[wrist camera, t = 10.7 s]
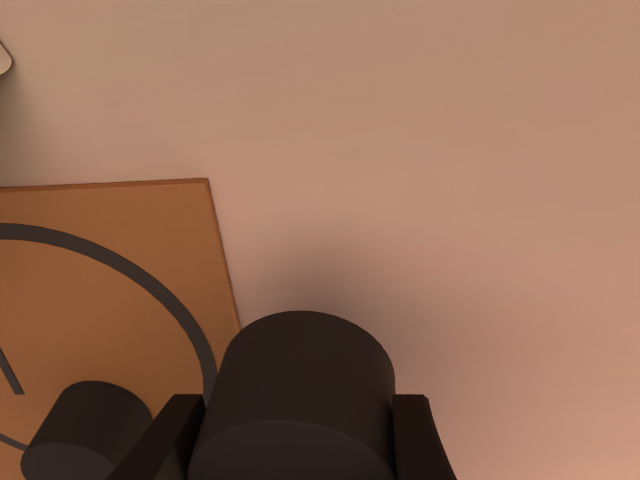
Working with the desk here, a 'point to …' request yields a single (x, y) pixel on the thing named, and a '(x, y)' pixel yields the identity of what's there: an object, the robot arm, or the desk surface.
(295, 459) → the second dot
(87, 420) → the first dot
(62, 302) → the drawing board
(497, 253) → the desk surface
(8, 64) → the ink box
